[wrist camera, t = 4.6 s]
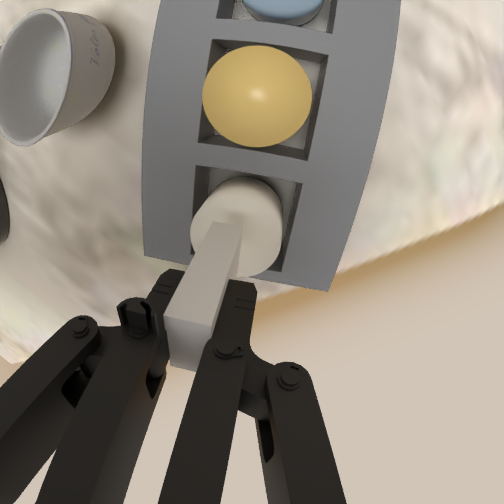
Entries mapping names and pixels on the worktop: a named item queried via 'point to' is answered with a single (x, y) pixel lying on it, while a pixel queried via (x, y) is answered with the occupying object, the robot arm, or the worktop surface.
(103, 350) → the robot arm
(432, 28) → the worktop surface
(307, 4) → the button blue
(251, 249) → the button ivory
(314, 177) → the three ball holder
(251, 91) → the button ochre
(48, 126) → the teacup
